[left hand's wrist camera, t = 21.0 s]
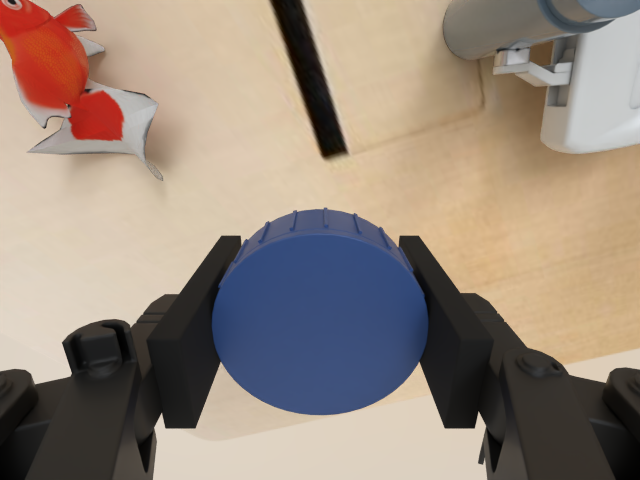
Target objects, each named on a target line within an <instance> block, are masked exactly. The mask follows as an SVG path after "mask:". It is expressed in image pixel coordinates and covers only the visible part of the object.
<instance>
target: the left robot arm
mask: <svg viewBox="0 0 640 480" xmlns="http://www.w3.org/2000/svg"><path fill="white" fill-rule="evenodd" d="M399 247H401V249H402V250H403V252H404V254H405V256H406V258H407V259H408V261H409V263H410V265H411V267H412V269H413V271H412V272H413V274H414V276H415V278H416V280H417V281H418V283H419V285H420V287H421V289H422V291H423V293H424V295H425V297H424V299H425V302H426V305H427V311H428V317H429V327H428V335H427V342H426V346H425V349H424V352H423V355H422V357H421V359H420V361H419V362H420V364H421V367H422V370H423V372H424V375H425V377H426V380H427V383H428V385H429V388H430V391H431V393H432V396H433V398H434V401H435V404H436V406H437V409H438V412H439V414H440V417H441V419H442V422H443V425H444V428H475V425H476V420H477V416H478V411H479V412H480V414H481V416H482V418H483V420H484V422H485V424H486V430H485V434H484V438H483V442H482V447H481V451H480V455H479V461H478V463H479V464H483V463H484V458H485V462H486V471H487V480H640V370H638V369H632V368H616V369H614V370H613V371H611V372H610V374H609V376H608V379H607V382H606V383H603V382H598V381H594V380H589V379H584V378H580V377H575V376H571V375H569V374H568V372H567V371H566V369H565V368H564V367H563V365H562V364H561V363H559V362H558V361H557V360H555V359H554V358H553V357H551V356H549V355H547V354H545V353H543V352H540V351H537V350H533V349H530V348H527V347H526V346H525V344H524V343H523V342H522V341H521V340H520V338H519V337H518V336H517V335H516V334H515V332H514V331H513V330H512V329H511V328H510V326H509V325H508V324H507V323H506V322H504V319H503V318H502V317H501V316H500V315H499V314H497V311H496V310H495V309H494V307H493V306H492V305H491V304H490V303H489V302H488V301H487V300H485V299H484V298H482V297H480V296H479V295H477V294H476V293H460V292H459V291H458V289H457V288H456V286H455V285H454V284H453V282H452V281H451V280H450V278H449V277H448V275H447V274H446V273H445V271H444V270H443V269H442V267H441V266H440V264H439V263H438V262H437V260H436V259H435V258H434V256H433V255H432V253H431V252H430V251H429V249H428V248H427V247H426V245H425V244H424V242H423V241H422V240H421V238H420V237H419V236H400V238H399ZM240 248H241V236H221V237H220V239H219V240H218V241H217V243H216V244H215V245H214V247H213V248H212V250H211V251H210V252H209V254H208V255H207V256H206V258H205V259H204V261H203V262H202V263H201V265H200V266H199V268H198V269H197V270H196V272H195V273H194V274H193V276H192V277H191V279H190V280H189V281H188V283H187V284H186V285H185V287H184V288H183V290H182V291H181V292H180V294H165V295H163V296H162V297H160V298H159V299H157V300H155V301H154V302H152V303H151V304H150V305H149V307H148V308H147V309H146V310H145V312H144V313H143V315H141V316H140V318H139V319H138V320H137V322H136V323H135V324H134V325H133V326H132V327H131V328H130V325H129V324H128V323H127V322H125V321H122V320H117V319H111V320H102V321H98V322H94V323H90V324H88V325H86V326H83V327H81V328H79V329H77V330H76V331H74V332H73V333H71V334H70V335H68V336H67V337H66V339H65V340H64V341H63V342H62V344H63V347H64V350H65V353H66V356H67V359H68V362H69V366H70V369H71V372H72V375H71V377H67V378H63V379H58V380H54V381H49V382H44V383H40V384H35V383H34V381H33V378H32V376H31V374H30V373H29V372H27V371H26V370H21V369H12V370H6V371H0V480H153V472H154V462H155V453H156V444H157V440H156V434H155V430H154V427H155V425H156V423H157V421H158V419H159V417H160V415H161V413H162V415H163V419H164V424H165V428H196V425H197V423H198V420H199V418H200V415H201V412H202V410H203V407H204V404H205V402H206V399H207V396H208V394H209V391H210V389H211V386H212V383H213V381H214V378H215V375H216V373H217V370H218V367H219V365H220V362H221V360H220V358H219V356H218V354H217V351H216V348H215V345H214V340H213V332H212V312H213V307H214V302H215V299H216V297H217V294H218V292H219V289H220V288H218V286H219V284H220V282H221V280H222V279H223V277H224V275H225V273H226V271H227V269H228V268H229V266H230V264H231V262H233V261H234V259H235V258H236V256H237V254H238V252H239V250H240Z"/></svg>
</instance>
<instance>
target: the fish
mask: <svg viewBox="0 0 640 480" xmlns="http://www.w3.org/2000/svg"><path fill="white" fill-rule="evenodd" d="M79 31H96V26H95V23H94V20H93V19H92V18H91V17H90V16H89V15H88V14H87V13H86V11H85V10H84V8H83V7H82V5H81V4H77V5H75V6H72V7H70V8H68V9H66V10H65V11H63V12H62V13H60V14H59V15H57V16H56V17H53V16H51V15H50V14H49V13H48V11H46V10H44V9H42V8H41V7H39V6H37V5H36V4H34V3H32V2H31V1H29V0H0V39H1V40H2V41H3V42H4V44H5V46H6V48H7V50H8V52H9V54H10V56H11V59H12V69H13V74H14V79H15V83H16V87H17V90H18V93H19V96H20V99H21V102H22V103H23V104H24V106H25V107H26V109H27V110H28V111H29V113H30V114H31V115H32V116H33V117H34V119H35V120H36V121H37V122H38V123H39V124H40V125H41V126H42V127H43V128H44V129H45V128H46V126H47V121H48V119H49V118H51V117H61V118H65V119H64V121H63V123H62V126H61V128H60V130H59V131H57V132H56V133H54V134H52V135H51V136H49V137H48V138H46V139H45V140H43V141H42V142H40V143H39V144H37V145H36V146H35V147H33V148H32V149H30V150H29V151H28V152H30V153H46V154H92V153H124V154H136V155H137V156H138V158H139V159H140V160H141V161H142V162H143V163H144V164H145V165H146V166H147V167H148V168H149V169H150V171H151V172H152V173H153V174H154V176H155V177H156V178H158V179H160V180H162V181H163V176H162V175H161V173H160V172H159V171H158V169H157V168H156V167H155V166H154V165H153V164H151V163H150V162H148V161H147V160H145V143H146V138H147V132H148V130H149V127H150V124H151V122H152V119H153V117H154V114H155V111H156V109H157V106H158V103H157V102H155V101H154V100H152V99H151V98H150V97H148V96H147V95H145V94H142V93H137V92H131V91H126V90H119V89H114V88H111V87H108V86H105V85H102V84H99V83H96V82H94V81H92V80H91V79H89V78H88V74H89V63H88V58H87V56H93V55H95V54H97V53H101V52H103V51H104V50H105V49H104V47H103V46H101V45H99V44H97V43H95V42H92V41H90V40H88V39H86V38H83V37H81V36H77V35H75V34H74V33H73V32H79ZM65 103H66V104H68V108H67V106H66V104H65Z"/></svg>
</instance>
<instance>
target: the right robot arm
mask: <svg viewBox="0 0 640 480" xmlns="http://www.w3.org/2000/svg"><path fill="white" fill-rule="evenodd" d="M529 58H530V48H522V49H518V50H512V49H510V50H503V51H500V52H495V56H494V65H493V75H497V74H507V73H515V75H516V76H518V77H520V78H521V79H523V80H525V81H526V82H528V83H530V84H531V85H533V86H535V87H537V86H547V92H546V99H545V106H544V113H543V120H542V127H541V133H540V140H541V142H542V143H544V144H545V145H546V146H547V147H549V148H550V149H552V150H554V151H558V152H563V153H569V154H585V153H594V152H601V151H607V150H613V149H618V148H624V147H628V146H633V145H637V144H640V10H638V11H636V12H634V13H632V14H629V15H627V16H624V17H620V18H617V19H615V20H614V21H613V22H611V23H610V24H608V25H606V26H604V27H602V28H600V29H598V30H595V31H593V32H589V33H585V34H580V35H576V36H572V37H568V38H564V39H560V40H556V41H554V42H553V49H552V56H551V63H550V65H545V66H539V65H537V64H535V63H533V62H531V61H529Z"/></svg>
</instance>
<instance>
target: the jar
mask: <svg viewBox="0 0 640 480" xmlns="http://www.w3.org/2000/svg"><path fill="white" fill-rule="evenodd" d="M638 10H640V0H452V2H451V3H450V5H449V7H448V9H447V11H446V14H445V18H444V23H443V33H444V38H445V41H446V44H447V46H448V47H449V49H450V50H451V51H452V52H453V53H454V54H455V55H456V56H458V57H460V58H462V59H466V60H477V59H481V58H485V57H490V56H494V55H495V52H500V51H503V50H510V49H512V50H518V49H522V48H527V47H531V46H535V45H539V44H543V43H547V42H552V41H556V40H560V39H564V38H568V37H572V36H576V35H580V34H585V33H589V32H593V31H595V30H598V29H600V28H602V27H604V26H606V25H608V24H610V23H611V22H613V21H614V20H615V19H617V18H620V17H624V16H627V15H629V14H632V13H634V12H636V11H638Z"/></svg>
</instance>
